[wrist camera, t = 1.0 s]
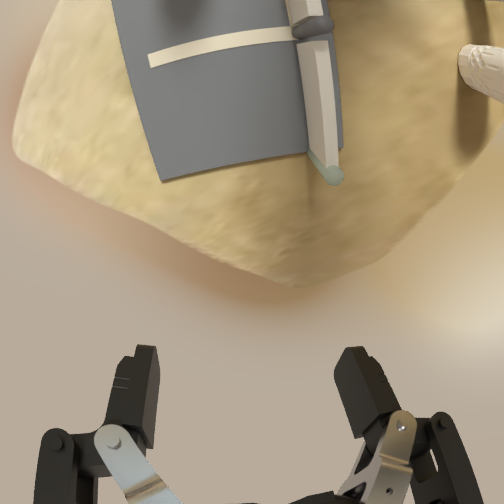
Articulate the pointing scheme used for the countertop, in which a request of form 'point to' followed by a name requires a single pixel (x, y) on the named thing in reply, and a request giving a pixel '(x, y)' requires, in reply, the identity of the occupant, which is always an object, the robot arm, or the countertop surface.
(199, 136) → the card
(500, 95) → the white cup
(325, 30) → the bar
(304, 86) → the fence gate
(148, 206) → the countertop surface
